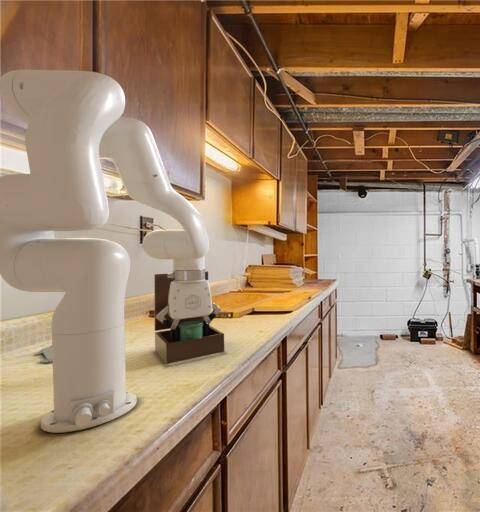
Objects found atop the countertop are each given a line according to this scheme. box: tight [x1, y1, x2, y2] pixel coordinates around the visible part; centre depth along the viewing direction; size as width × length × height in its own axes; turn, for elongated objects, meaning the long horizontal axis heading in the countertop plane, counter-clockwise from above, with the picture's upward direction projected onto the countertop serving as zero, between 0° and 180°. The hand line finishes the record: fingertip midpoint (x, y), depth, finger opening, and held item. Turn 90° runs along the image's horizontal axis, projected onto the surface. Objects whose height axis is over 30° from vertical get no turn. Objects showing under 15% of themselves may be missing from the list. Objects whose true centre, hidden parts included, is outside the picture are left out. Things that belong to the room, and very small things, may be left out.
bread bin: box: [154, 324, 225, 365], centre depth 89 cm, size 16×14×6 cm
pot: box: [177, 321, 204, 341], centre depth 88 cm, size 6×6×8 cm
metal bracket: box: [35, 344, 53, 364], centre depth 91 cm, size 14×6×15 cm
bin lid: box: [153, 270, 209, 332], centre depth 94 cm, size 16×14×1 cm
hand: (190, 339), depth 88 cm, fingers closed on pot, 6 cm apart
